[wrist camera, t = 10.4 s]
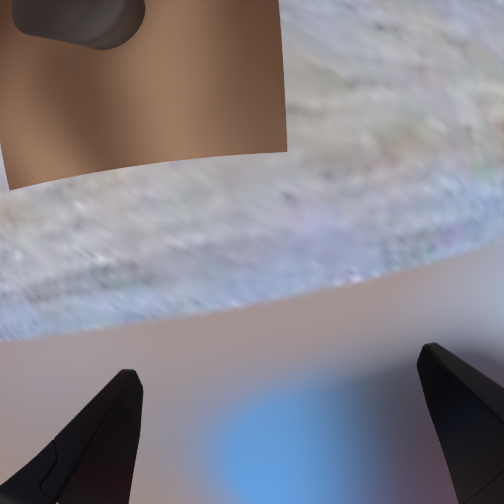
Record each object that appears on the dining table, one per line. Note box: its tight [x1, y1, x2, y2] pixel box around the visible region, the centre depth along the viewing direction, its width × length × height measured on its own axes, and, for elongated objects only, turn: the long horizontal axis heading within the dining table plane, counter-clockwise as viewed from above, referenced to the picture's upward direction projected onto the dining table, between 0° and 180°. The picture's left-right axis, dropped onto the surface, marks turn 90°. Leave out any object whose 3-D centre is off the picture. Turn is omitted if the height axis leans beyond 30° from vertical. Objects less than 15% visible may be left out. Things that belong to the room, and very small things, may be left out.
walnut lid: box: [0, 0, 287, 190], centre depth 8 cm, size 14×14×6 cm
